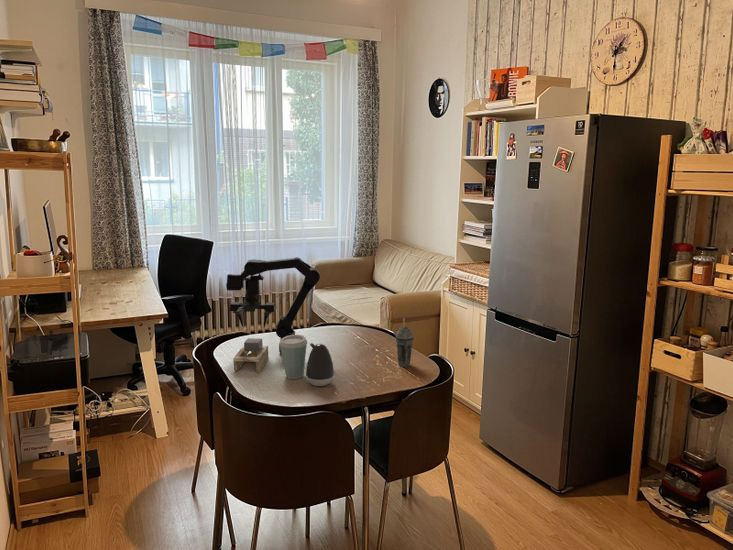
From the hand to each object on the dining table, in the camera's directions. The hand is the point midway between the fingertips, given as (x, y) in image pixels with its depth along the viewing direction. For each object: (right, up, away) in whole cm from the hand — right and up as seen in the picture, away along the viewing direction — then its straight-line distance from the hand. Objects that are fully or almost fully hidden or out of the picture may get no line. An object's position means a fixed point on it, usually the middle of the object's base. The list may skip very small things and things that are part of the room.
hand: (253, 326), depth 241 cm
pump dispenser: (+30, -18, -30) cm, 46 cm away
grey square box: (+2, -12, -7) cm, 14 cm away
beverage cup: (+62, -15, -10) cm, 65 cm away
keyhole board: (+1, -14, -10) cm, 18 cm away
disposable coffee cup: (+20, -17, -22) cm, 34 cm away
